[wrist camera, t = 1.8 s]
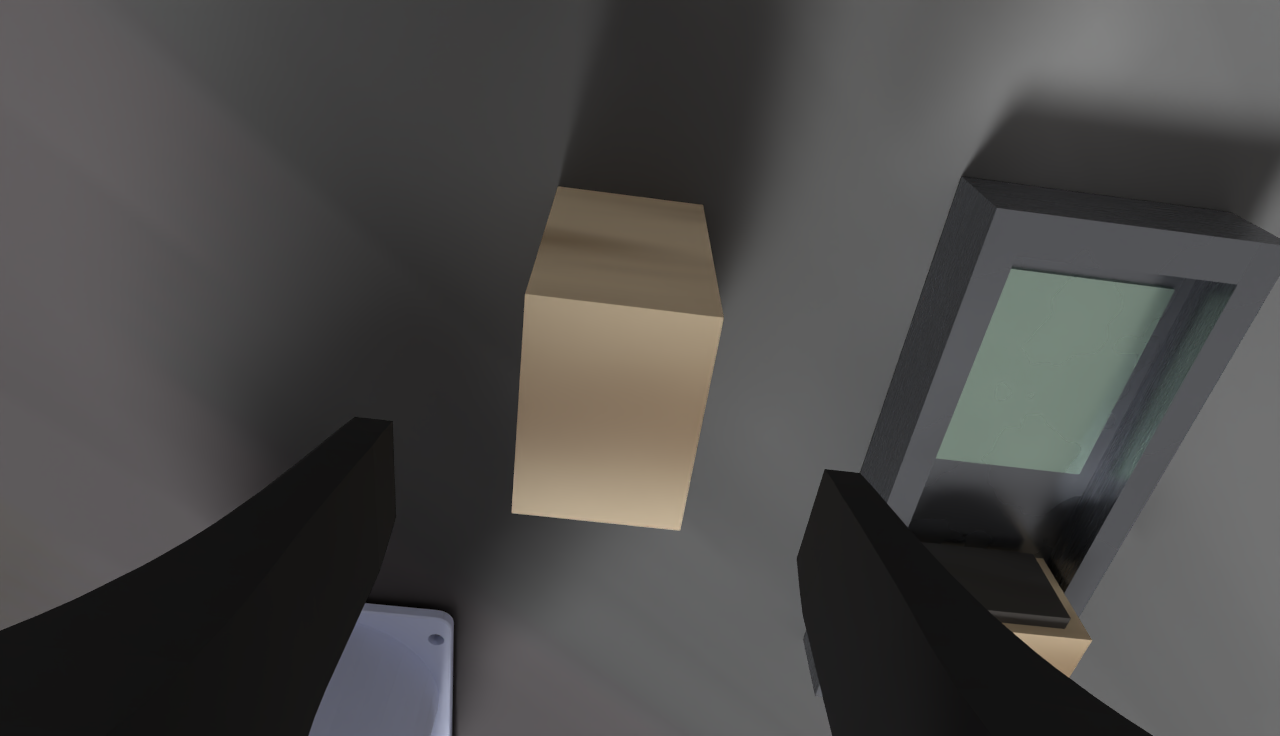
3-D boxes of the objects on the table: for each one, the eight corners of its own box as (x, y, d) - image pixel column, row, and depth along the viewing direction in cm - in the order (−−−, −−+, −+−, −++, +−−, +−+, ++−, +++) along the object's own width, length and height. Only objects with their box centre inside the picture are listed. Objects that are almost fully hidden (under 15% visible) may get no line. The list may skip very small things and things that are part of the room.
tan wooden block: (670, 392, 22) (677, 544, 17) (542, 377, 22) (511, 527, 17) (703, 204, 19) (723, 317, 14) (558, 186, 19) (525, 294, 14)
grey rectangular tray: (995, 658, 27) (1021, 714, 25) (803, 639, 27) (815, 696, 25) (1231, 212, 19) (1296, 246, 17) (961, 176, 19) (997, 208, 17)
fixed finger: (994, 649, 26) (1034, 734, 23) (849, 635, 25) (871, 719, 23) (1048, 548, 23) (1097, 629, 21) (889, 531, 23) (919, 611, 20)
